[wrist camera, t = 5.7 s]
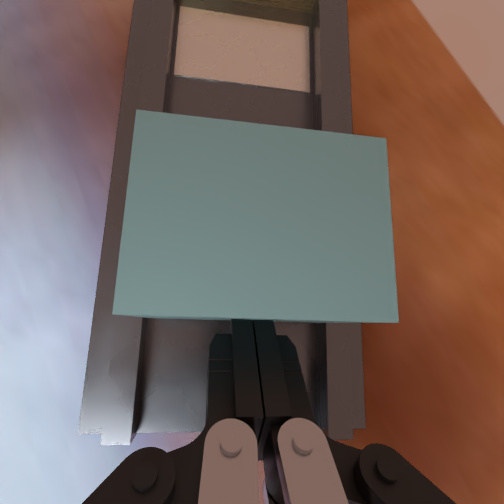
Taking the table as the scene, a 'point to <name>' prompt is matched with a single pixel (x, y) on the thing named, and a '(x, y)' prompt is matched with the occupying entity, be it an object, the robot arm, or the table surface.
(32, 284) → the table surface
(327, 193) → the block
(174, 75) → the chute
